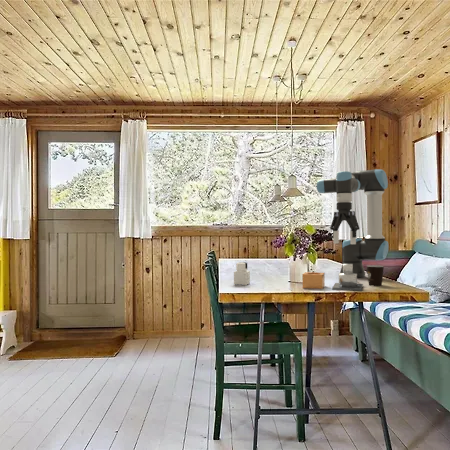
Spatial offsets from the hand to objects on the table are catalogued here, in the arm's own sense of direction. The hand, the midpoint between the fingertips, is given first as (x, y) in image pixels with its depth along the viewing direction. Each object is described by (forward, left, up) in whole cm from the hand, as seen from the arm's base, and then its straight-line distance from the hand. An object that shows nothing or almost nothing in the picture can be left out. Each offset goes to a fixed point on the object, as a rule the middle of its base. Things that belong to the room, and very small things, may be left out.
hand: (344, 243), depth 222 cm
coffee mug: (-16, +15, -23) cm, 31 cm away
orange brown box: (+1, -15, -22) cm, 27 cm away
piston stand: (-1, +2, -22) cm, 22 cm away
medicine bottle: (0, -54, -23) cm, 59 cm away
